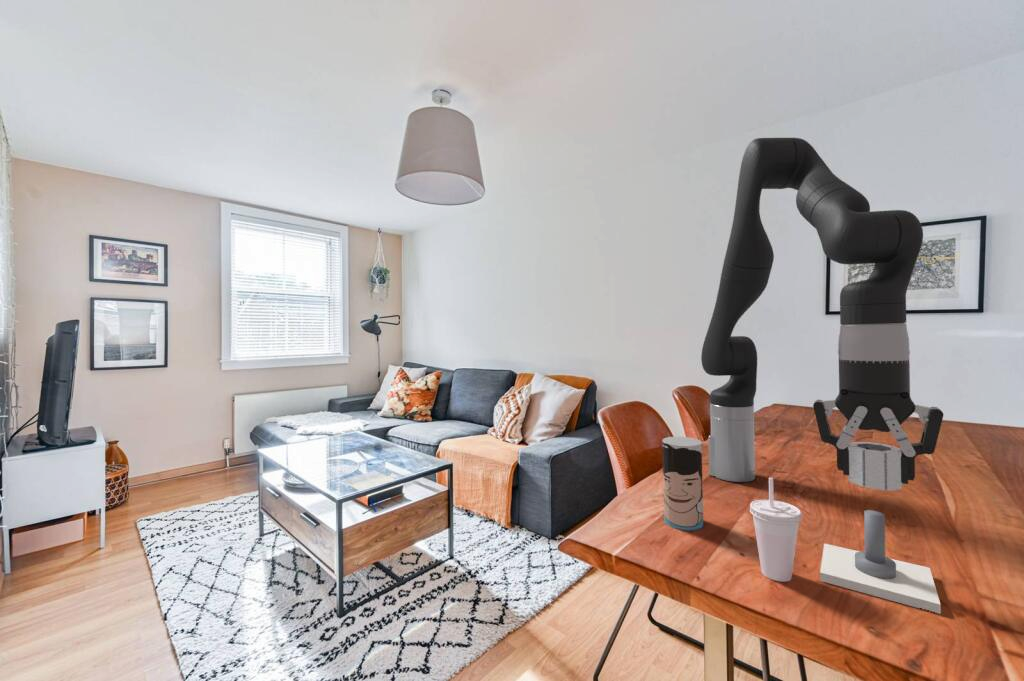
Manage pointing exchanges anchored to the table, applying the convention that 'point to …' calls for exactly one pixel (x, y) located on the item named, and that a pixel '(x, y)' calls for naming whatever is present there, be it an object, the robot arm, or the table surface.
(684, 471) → the printed cylinder can
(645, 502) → the table surface
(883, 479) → the ring
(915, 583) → the shaft block
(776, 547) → the smoothie
